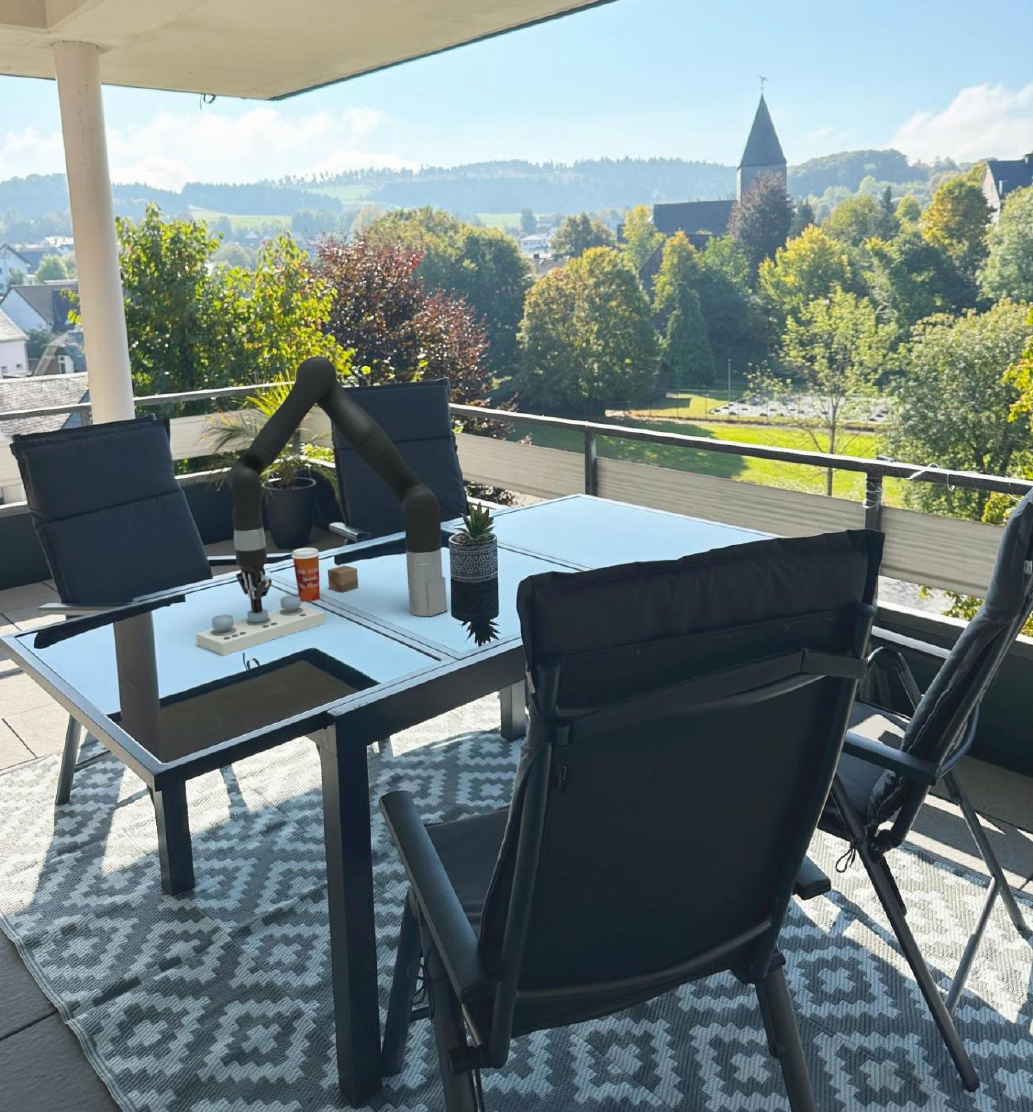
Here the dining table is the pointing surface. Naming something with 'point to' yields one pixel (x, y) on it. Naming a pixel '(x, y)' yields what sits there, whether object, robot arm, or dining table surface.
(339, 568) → the walnut block
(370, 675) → the dining table surface
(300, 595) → the paper cup
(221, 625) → the three-dot button
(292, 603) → the one-dot button
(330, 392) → the robot arm
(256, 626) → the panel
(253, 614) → the two-dot button
